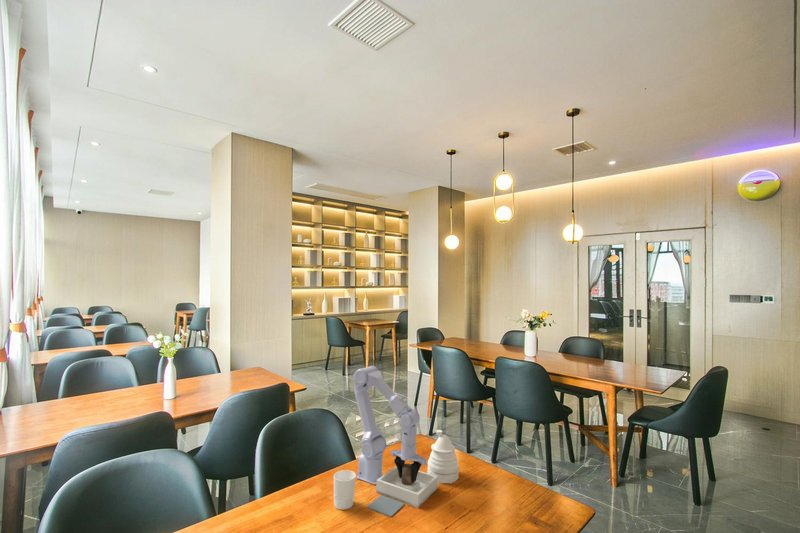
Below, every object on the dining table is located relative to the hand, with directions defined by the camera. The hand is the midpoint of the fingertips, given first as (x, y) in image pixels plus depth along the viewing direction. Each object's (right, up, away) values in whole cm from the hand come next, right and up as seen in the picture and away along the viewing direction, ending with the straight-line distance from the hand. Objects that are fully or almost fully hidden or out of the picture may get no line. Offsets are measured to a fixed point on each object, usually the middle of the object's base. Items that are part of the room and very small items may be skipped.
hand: (407, 479), depth 144 cm
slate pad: (-8, -3, -11) cm, 14 cm away
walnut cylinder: (0, -1, 0) cm, 1 cm away
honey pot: (+15, -6, +12) cm, 20 cm away
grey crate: (0, -4, 0) cm, 4 cm away
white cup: (-23, -3, -11) cm, 26 cm away
